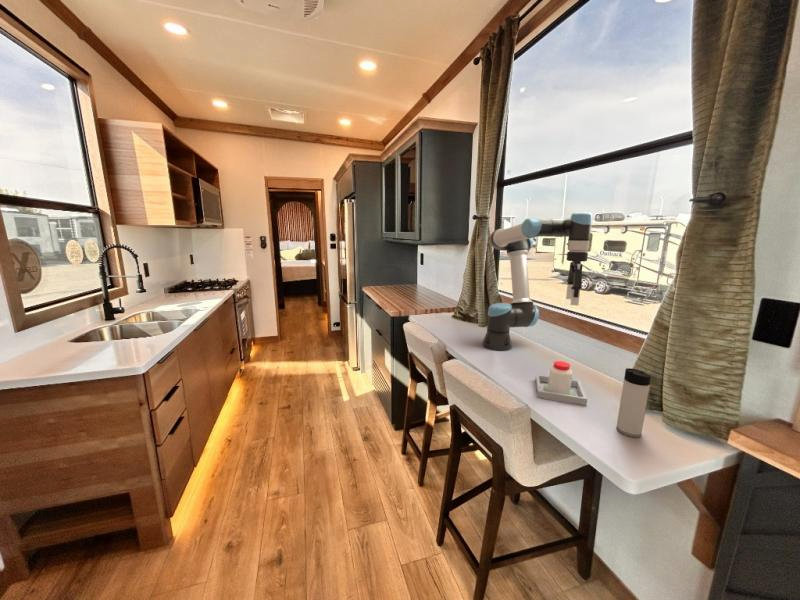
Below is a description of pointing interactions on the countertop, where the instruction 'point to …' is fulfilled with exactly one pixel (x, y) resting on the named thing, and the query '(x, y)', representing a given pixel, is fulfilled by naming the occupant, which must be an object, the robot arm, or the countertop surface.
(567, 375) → the pill bottle
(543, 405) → the countertop surface
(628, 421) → the travel mug
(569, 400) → the shallow grey tray
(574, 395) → the pad
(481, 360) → the countertop surface
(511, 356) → the countertop surface
